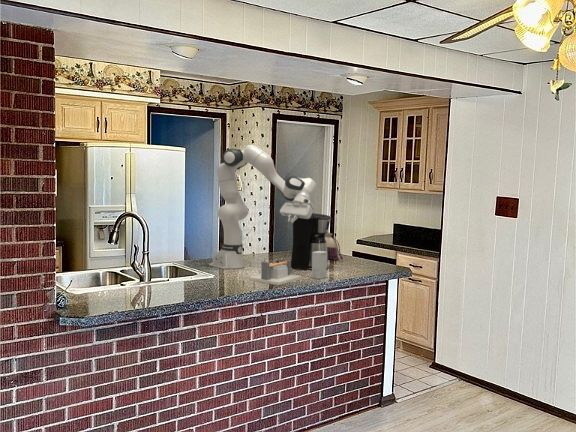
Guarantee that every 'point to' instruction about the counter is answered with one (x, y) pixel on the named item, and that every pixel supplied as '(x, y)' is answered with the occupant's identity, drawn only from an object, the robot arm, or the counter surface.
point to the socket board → (276, 281)
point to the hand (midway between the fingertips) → (290, 222)
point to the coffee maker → (308, 240)
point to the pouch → (332, 247)
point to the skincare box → (319, 264)
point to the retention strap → (277, 264)
